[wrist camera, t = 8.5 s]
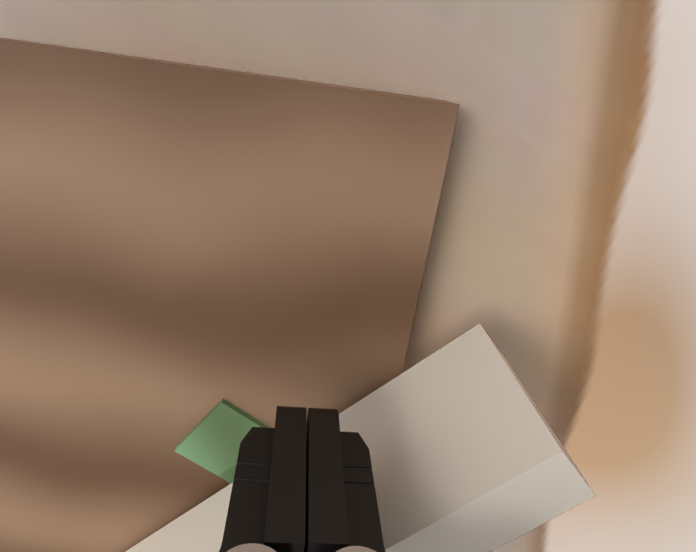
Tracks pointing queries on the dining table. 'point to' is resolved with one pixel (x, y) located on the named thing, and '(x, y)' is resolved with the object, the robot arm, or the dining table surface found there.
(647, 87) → the dining table surface
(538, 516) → the lever handle
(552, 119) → the dining table surface
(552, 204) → the dining table surface
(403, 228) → the brown wooden board
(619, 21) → the dining table surface
